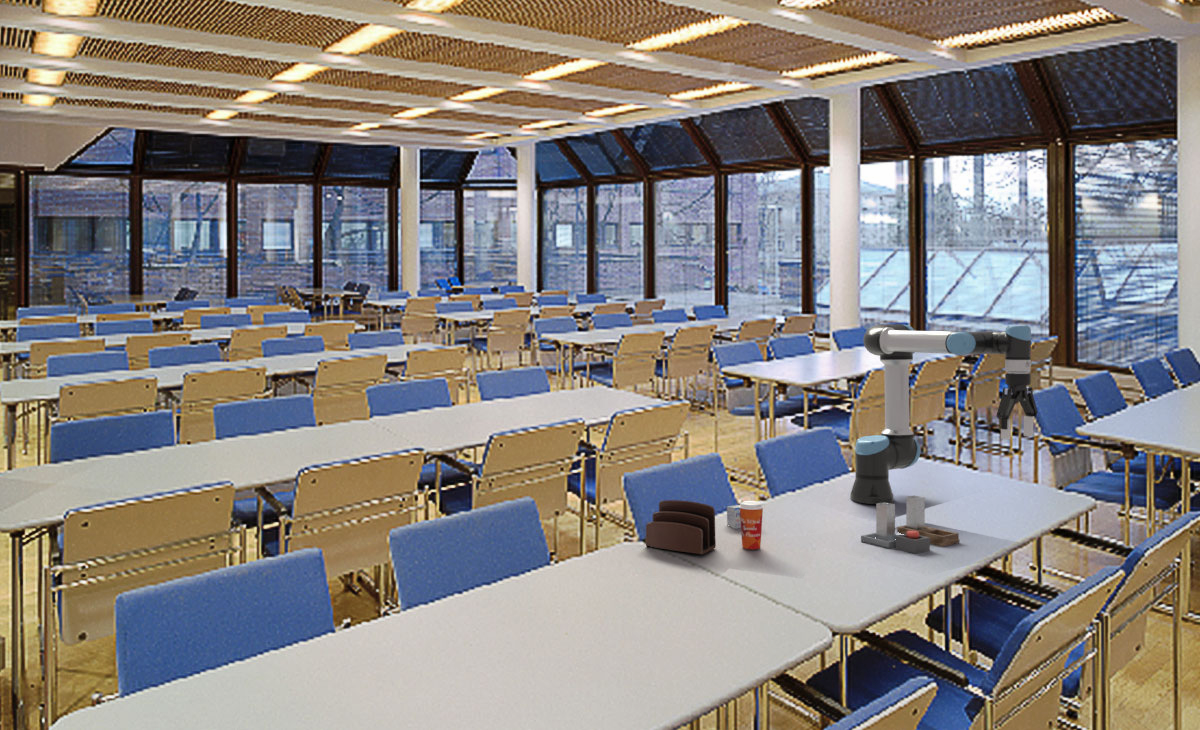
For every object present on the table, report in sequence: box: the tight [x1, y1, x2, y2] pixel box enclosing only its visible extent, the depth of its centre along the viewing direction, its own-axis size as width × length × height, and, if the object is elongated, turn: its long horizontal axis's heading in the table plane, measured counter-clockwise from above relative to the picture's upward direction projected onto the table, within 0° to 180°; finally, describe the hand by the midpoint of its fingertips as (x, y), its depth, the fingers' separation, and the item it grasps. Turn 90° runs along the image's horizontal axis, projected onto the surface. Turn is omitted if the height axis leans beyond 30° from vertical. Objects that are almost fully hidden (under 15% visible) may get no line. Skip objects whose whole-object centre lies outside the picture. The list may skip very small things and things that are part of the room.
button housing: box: [895, 534, 931, 555], centre depth 264 cm, size 7×7×4 cm
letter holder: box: [645, 499, 717, 555], centre depth 270 cm, size 10×20×14 cm, turn 58°
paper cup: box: [738, 500, 765, 550], centre depth 269 cm, size 8×8×14 cm
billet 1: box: [875, 502, 896, 542], centre depth 273 cm, size 4×4×12 cm
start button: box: [907, 531, 919, 538], centre depth 264 cm, size 4×4×2 cm
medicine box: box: [726, 504, 741, 529], centre depth 290 cm, size 8×4×9 cm, turn 117°
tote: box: [860, 532, 899, 549], centre depth 273 cm, size 11×11×2 cm
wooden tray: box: [896, 524, 961, 548], centre depth 277 cm, size 17×9×3 cm, turn 34°
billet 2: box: [905, 495, 926, 530], centre depth 281 cm, size 4×4×12 cm
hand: (1017, 437), depth 281 cm, fingers open, 13 cm apart
